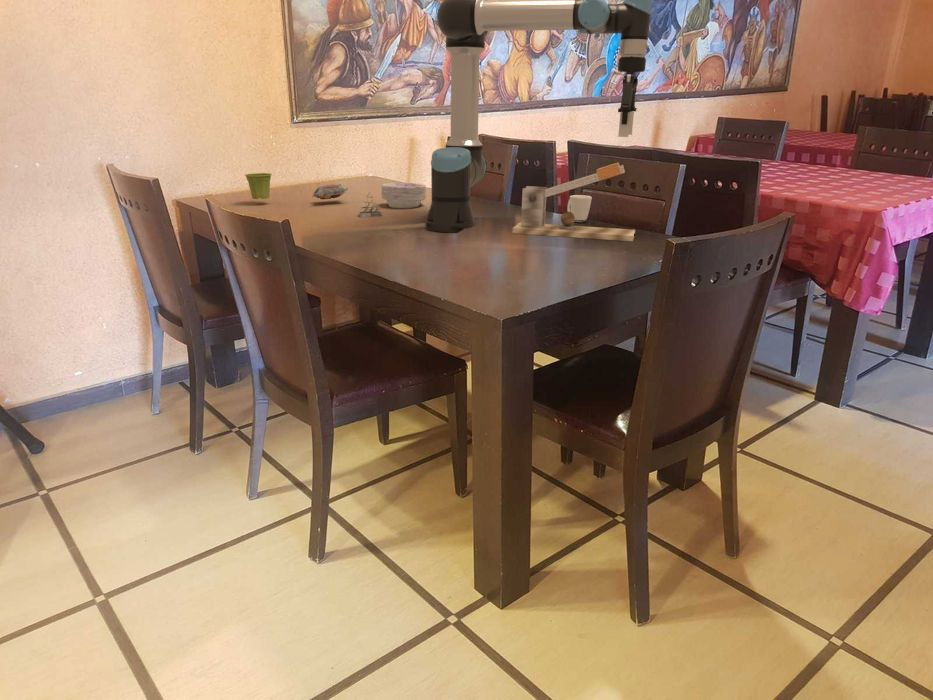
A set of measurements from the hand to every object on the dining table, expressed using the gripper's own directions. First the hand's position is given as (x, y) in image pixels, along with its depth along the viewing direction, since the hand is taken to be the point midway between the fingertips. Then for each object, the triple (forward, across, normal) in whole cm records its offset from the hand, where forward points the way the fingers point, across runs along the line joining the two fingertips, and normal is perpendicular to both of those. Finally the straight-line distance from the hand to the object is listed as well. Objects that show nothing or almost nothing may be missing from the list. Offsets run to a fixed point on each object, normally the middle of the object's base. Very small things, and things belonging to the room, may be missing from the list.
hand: (625, 135), depth 202 cm
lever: (+17, -16, +23) cm, 33 cm away
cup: (+27, +6, +13) cm, 31 cm away
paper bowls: (+27, +11, +74) cm, 80 cm away
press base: (+27, -16, +11) cm, 33 cm away
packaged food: (+28, +13, +106) cm, 110 cm away
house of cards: (+27, -6, +79) cm, 84 cm away
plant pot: (+27, +10, +130) cm, 134 cm away
